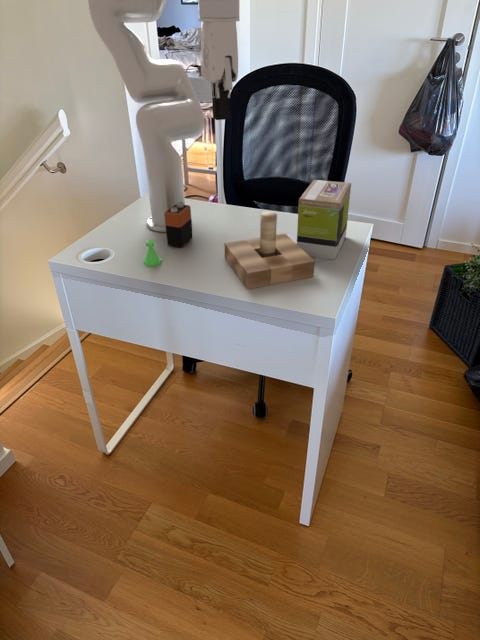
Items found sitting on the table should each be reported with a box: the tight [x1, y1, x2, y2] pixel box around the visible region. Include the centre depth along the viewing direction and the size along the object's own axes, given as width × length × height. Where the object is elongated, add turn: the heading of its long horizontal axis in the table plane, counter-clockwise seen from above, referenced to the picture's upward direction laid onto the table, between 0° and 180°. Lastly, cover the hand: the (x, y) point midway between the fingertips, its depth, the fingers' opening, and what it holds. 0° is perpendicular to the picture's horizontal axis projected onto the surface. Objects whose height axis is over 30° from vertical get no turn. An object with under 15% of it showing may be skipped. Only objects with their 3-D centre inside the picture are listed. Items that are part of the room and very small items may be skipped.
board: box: [223, 233, 316, 290], centre depth 108 cm, size 16×16×4 cm
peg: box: [259, 211, 278, 258], centre depth 106 cm, size 4×4×13 cm
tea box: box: [296, 179, 352, 261], centre depth 115 cm, size 15×10×15 cm, turn 159°
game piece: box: [143, 239, 162, 267], centre depth 110 cm, size 4×4×6 cm
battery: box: [164, 202, 193, 249], centre depth 118 cm, size 4×7×10 cm, turn 160°
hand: (221, 118), depth 95 cm, fingers closed
